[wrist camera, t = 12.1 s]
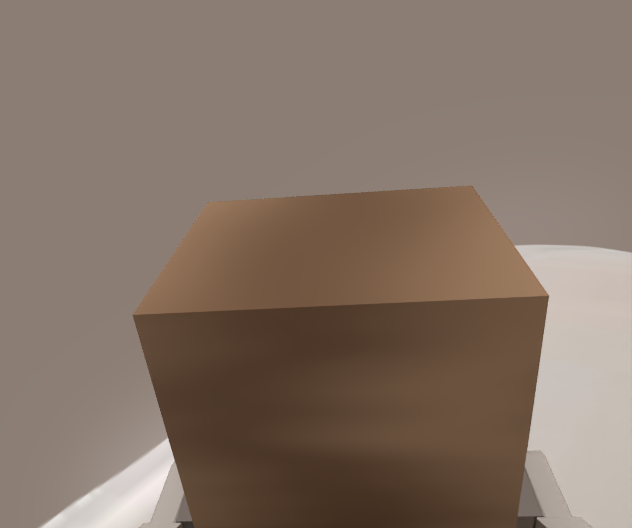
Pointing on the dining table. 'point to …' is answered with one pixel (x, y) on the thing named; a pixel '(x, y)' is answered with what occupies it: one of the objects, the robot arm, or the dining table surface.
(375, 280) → the tall wooden block
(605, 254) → the dining table surface
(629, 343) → the dining table surface
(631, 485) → the dining table surface
